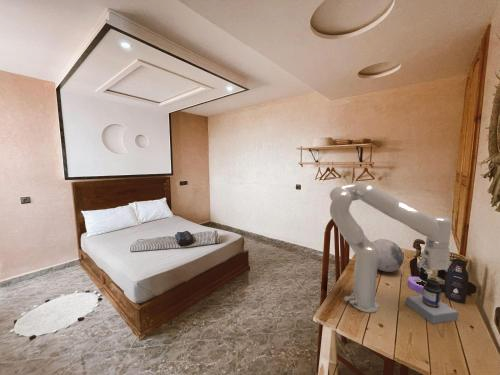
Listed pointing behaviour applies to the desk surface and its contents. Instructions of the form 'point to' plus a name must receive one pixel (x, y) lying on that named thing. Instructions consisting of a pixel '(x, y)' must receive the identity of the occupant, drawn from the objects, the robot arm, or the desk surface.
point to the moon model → (388, 255)
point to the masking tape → (415, 284)
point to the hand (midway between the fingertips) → (432, 279)
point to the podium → (432, 310)
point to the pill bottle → (431, 293)
